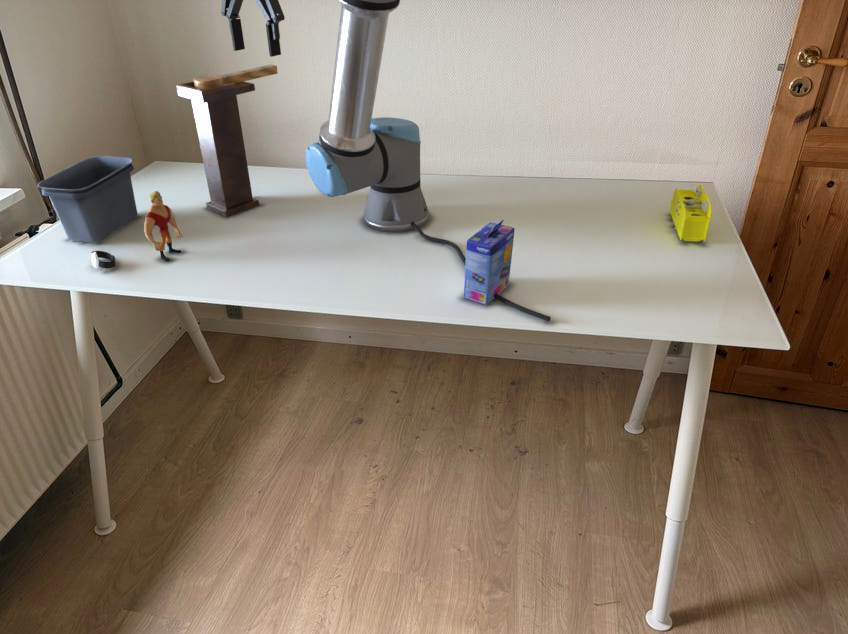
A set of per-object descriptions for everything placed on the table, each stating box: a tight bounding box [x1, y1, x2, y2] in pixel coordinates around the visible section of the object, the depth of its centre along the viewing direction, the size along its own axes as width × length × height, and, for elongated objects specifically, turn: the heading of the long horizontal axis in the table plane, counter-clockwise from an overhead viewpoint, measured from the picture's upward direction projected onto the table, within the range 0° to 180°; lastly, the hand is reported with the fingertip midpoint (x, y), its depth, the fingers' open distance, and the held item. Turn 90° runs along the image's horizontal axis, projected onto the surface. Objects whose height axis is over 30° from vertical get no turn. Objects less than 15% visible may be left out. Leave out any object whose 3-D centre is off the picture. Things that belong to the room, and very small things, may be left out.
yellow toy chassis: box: [669, 182, 713, 243], centre depth 148 cm, size 16×6×8 cm, turn 168°
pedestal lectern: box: [175, 80, 260, 218], centre depth 165 cm, size 14×11×30 cm
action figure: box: [143, 190, 184, 262], centre depth 146 cm, size 10×4×15 cm, turn 158°
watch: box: [90, 250, 116, 270], centre depth 147 cm, size 8×5×4 cm, turn 40°
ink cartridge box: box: [463, 219, 516, 306], centre depth 127 cm, size 10×6×14 cm, turn 146°
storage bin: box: [37, 155, 139, 244], centre depth 161 cm, size 21×16×14 cm
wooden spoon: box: [192, 64, 278, 90], centre depth 160 cm, size 22×6×2 cm, turn 134°
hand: (257, 52), depth 158 cm, fingers open, 13 cm apart
